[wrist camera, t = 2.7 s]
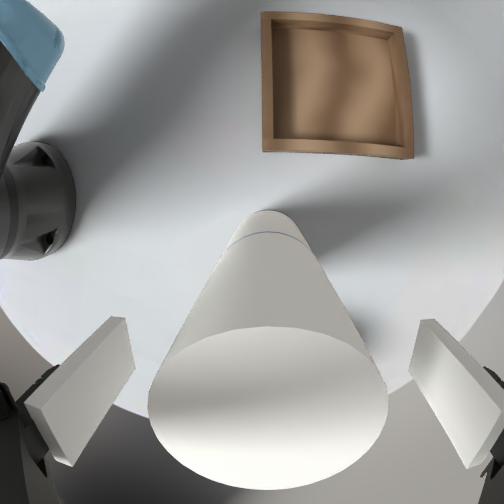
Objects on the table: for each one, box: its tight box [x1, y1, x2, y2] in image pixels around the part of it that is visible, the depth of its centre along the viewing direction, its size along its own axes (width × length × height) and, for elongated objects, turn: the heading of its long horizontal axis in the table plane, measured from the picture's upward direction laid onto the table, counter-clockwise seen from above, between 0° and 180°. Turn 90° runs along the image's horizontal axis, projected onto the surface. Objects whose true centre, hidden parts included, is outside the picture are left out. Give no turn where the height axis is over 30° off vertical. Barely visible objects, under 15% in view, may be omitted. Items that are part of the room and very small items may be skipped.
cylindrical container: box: [148, 210, 389, 490], centre depth 20 cm, size 7×7×25 cm
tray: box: [261, 12, 414, 160], centre depth 26 cm, size 15×15×3 cm
